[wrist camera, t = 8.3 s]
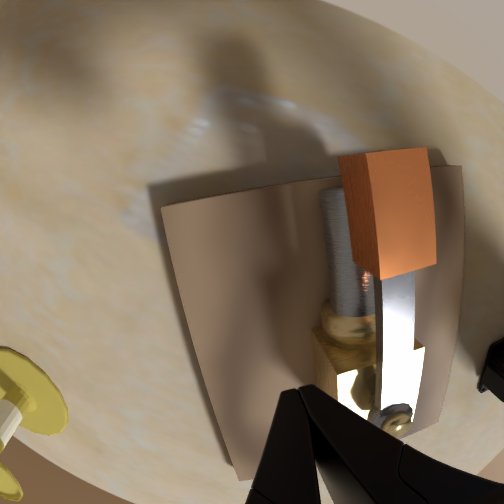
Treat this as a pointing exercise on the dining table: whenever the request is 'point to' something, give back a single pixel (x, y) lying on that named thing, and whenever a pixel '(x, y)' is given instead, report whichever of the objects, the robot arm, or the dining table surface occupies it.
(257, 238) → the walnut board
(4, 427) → the candle
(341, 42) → the dining table surface
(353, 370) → the valve body
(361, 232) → the valve lever
